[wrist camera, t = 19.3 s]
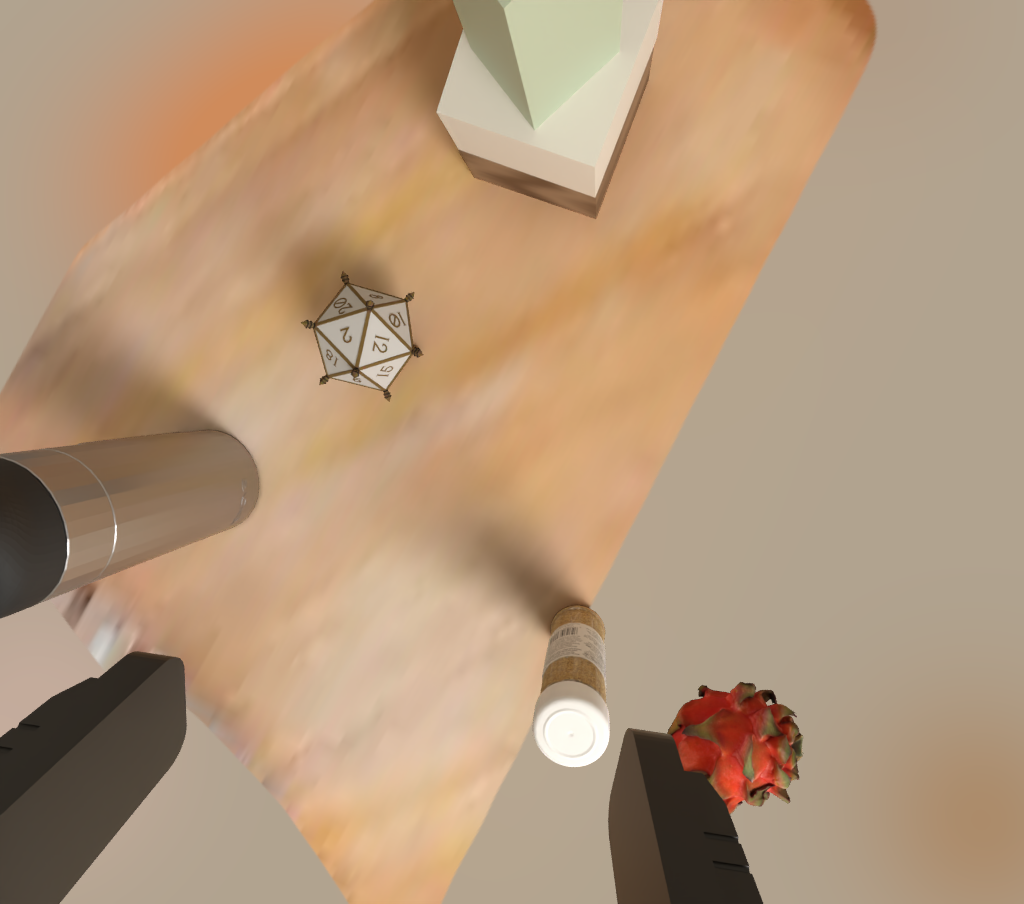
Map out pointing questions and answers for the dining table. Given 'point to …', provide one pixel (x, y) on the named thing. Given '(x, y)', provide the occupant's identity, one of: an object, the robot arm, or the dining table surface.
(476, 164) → the tower bottom
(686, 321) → the dining table surface
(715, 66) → the dining table surface
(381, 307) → the game die
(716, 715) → the dragon fruit
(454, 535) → the dining table surface
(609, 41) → the sage block
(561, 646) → the sprinkles bottle
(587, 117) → the tower top
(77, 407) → the dining table surface
